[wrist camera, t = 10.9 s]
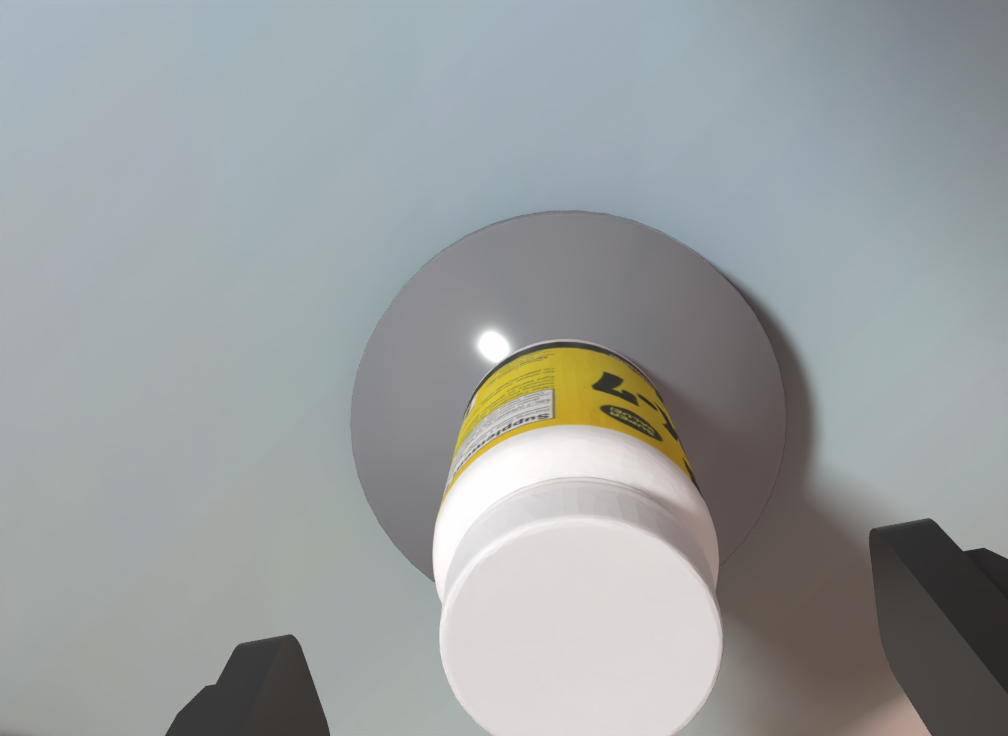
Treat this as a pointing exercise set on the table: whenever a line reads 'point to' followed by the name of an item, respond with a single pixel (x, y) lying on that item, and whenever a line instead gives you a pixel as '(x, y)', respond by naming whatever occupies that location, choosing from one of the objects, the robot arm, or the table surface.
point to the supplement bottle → (575, 553)
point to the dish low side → (566, 315)
